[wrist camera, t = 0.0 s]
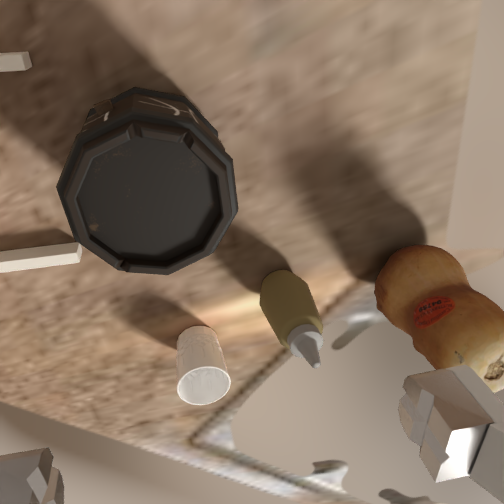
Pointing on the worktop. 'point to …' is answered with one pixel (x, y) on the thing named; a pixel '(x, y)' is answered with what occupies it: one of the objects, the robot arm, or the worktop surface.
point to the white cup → (200, 367)
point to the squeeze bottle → (292, 314)
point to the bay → (43, 254)
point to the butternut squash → (442, 312)
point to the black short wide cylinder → (148, 183)
